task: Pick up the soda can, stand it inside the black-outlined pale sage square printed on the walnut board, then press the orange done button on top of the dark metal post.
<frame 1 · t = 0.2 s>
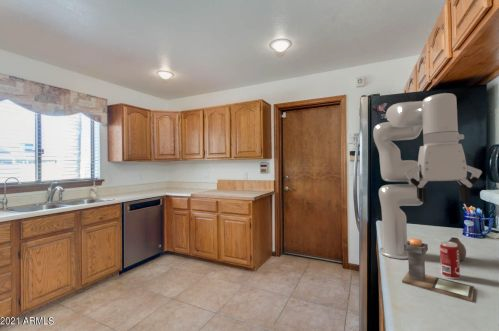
hand: (442, 201, 66), 31 cm above the countertop, fingers open, 9 cm apart
activity board: (436, 285, 81), on the countertop
soda can: (450, 276, 87), on the countertop
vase: (455, 259, 101), on the countertop
done button: (415, 242, 85), point 13 cm above the countertop, slide at 0.0 cm
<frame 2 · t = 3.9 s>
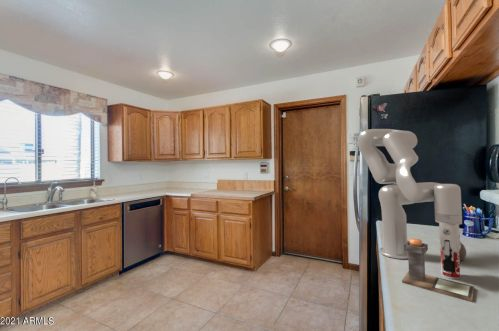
hand: (450, 268, 87), 3 cm above the countertop, fingers closed on soda can, 4 cm apart
soda can: (450, 276, 87), on the countertop, touching gripper
everything else where it was.
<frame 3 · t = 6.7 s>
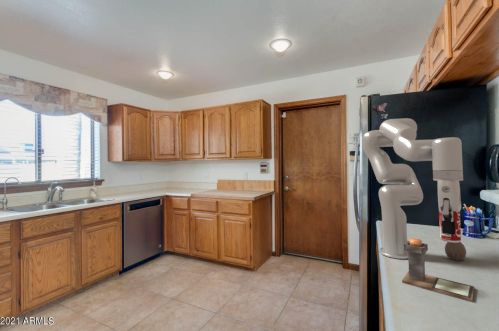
hand: (449, 231, 78), 19 cm above the countertop, fingers closed on soda can, 4 cm apart
soda can: (450, 240, 78), point 16 cm above the countertop, touching gripper
everything else where it was.
when the fingers open (5 cm above the countertop, at t = 9.6 s): soda can stays where it is, resting on activity board.
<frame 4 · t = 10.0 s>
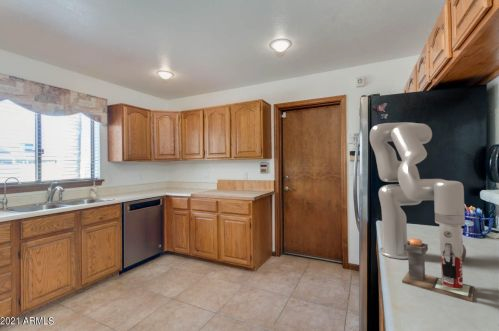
hand: (451, 271, 78), 6 cm above the countertop, fingers open, 8 cm apart
soda can: (452, 287, 78), point 1 cm above the countertop, touching activity board
everything else where it was.
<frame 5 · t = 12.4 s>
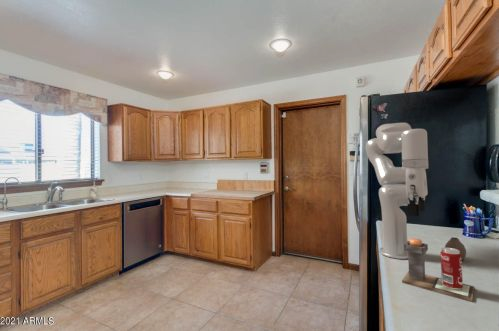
hand: (416, 213, 84), 24 cm above the countertop, fingers open, 9 cm apart
nothing on the countertop moved.
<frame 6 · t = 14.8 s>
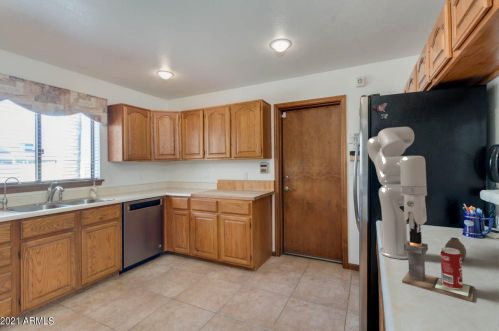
hand: (415, 242, 85), 13 cm above the countertop, fingers closed
done button: (415, 245, 85), point 12 cm above the countertop, slide at 0.9 cm, touching gripper
everything else where it was.
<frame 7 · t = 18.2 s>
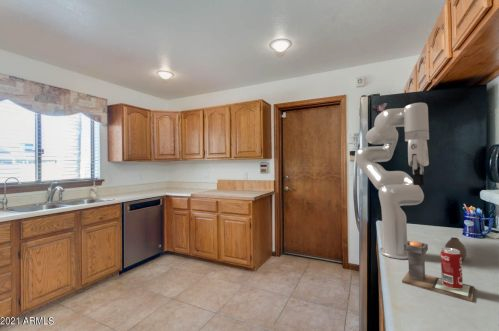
hand: (418, 184, 91), 33 cm above the countertop, fingers closed
done button: (415, 245, 85), point 12 cm above the countertop, slide at 1.0 cm
everything else where it was.
at the end: soda can 0.3 cm from the target spot, point 0.7 cm above the countertop; soda can tilted 0°; done button slide at 1.0 cm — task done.
